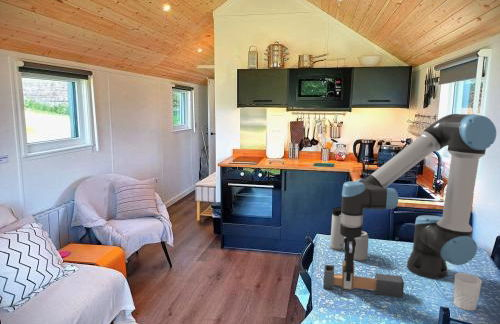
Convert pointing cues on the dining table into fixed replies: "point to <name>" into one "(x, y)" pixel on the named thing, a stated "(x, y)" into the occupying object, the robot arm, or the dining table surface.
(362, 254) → the can
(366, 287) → the l-shaped wooden block pair
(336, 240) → the travel mug
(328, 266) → the socket
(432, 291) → the dining table surface
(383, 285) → the sleeve
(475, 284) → the white cup
